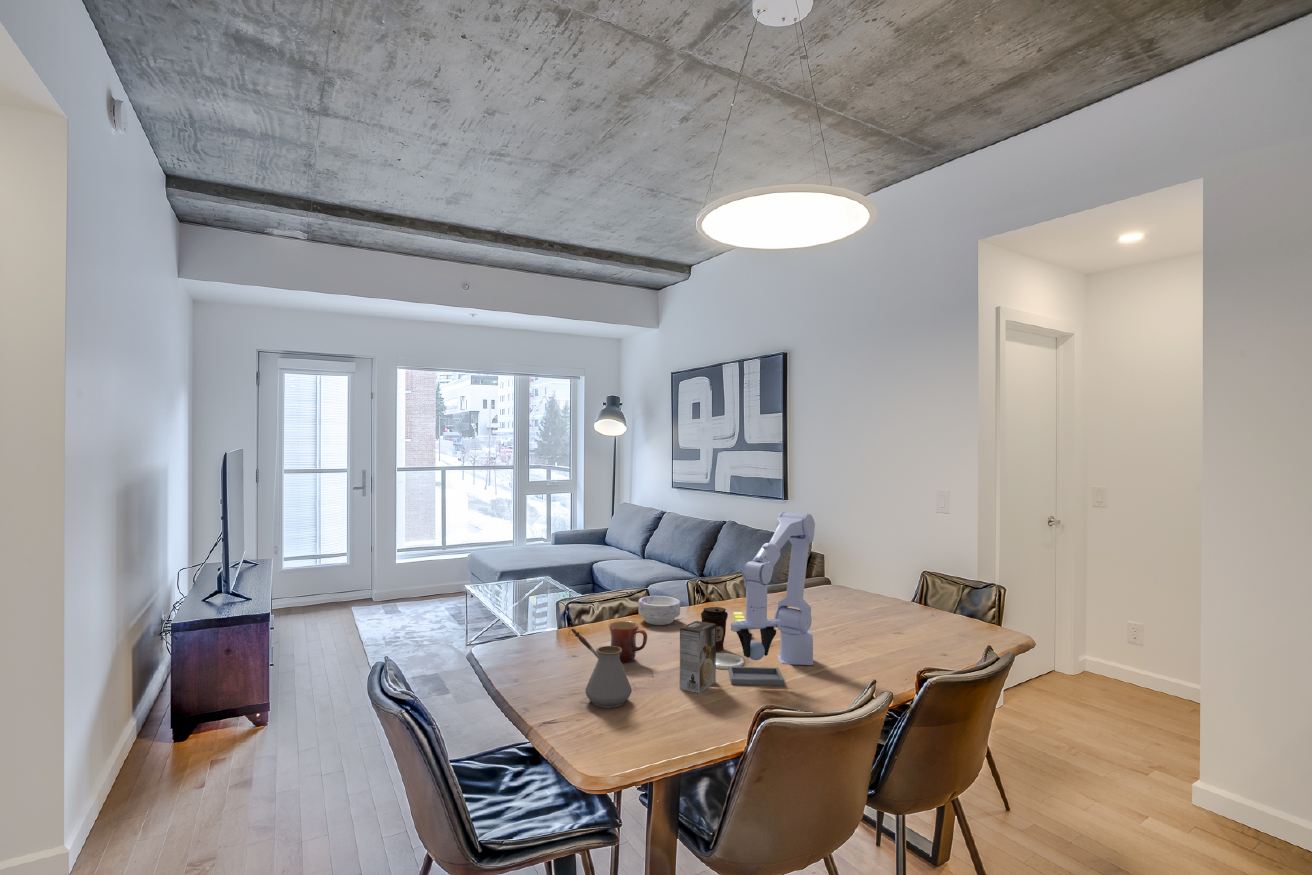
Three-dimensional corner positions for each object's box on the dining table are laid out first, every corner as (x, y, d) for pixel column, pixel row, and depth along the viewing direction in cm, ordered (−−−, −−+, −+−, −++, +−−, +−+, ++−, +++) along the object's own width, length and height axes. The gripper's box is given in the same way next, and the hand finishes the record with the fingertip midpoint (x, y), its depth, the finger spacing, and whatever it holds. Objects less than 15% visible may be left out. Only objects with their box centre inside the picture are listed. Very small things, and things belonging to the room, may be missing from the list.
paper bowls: (681, 628, 228) (681, 605, 229) (637, 627, 228) (638, 604, 228) (678, 616, 244) (679, 595, 244) (638, 616, 243) (638, 594, 243)
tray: (778, 674, 183) (778, 667, 183) (784, 687, 173) (784, 680, 173) (728, 672, 183) (728, 666, 183) (731, 685, 173) (731, 678, 173)
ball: (757, 656, 181) (758, 638, 182) (768, 661, 177) (768, 643, 177) (742, 657, 179) (743, 639, 180) (752, 663, 175) (753, 644, 175)
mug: (602, 661, 191) (603, 626, 191) (616, 653, 199) (617, 619, 199) (639, 668, 186) (640, 632, 186) (652, 659, 194) (653, 624, 194)
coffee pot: (641, 702, 161) (642, 641, 161) (605, 715, 153) (606, 651, 153) (587, 679, 176) (588, 623, 176) (552, 690, 168) (553, 631, 168)
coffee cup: (725, 655, 198) (726, 613, 198) (698, 653, 200) (699, 611, 200) (728, 647, 207) (729, 606, 207) (702, 645, 208) (703, 604, 209)
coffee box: (695, 678, 178) (696, 619, 178) (716, 683, 175) (717, 623, 175) (678, 688, 170) (679, 627, 171) (700, 694, 167) (701, 631, 167)
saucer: (741, 657, 197) (741, 653, 197) (745, 670, 185) (745, 666, 185) (701, 656, 197) (701, 652, 197) (703, 669, 185) (703, 665, 185)
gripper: (772, 600, 185) (771, 648, 184) (726, 604, 180) (725, 653, 179) (785, 606, 178) (784, 656, 178) (738, 610, 173) (737, 661, 173)
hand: (755, 655), depth 178 cm, fingers closed on ball, 5 cm apart
